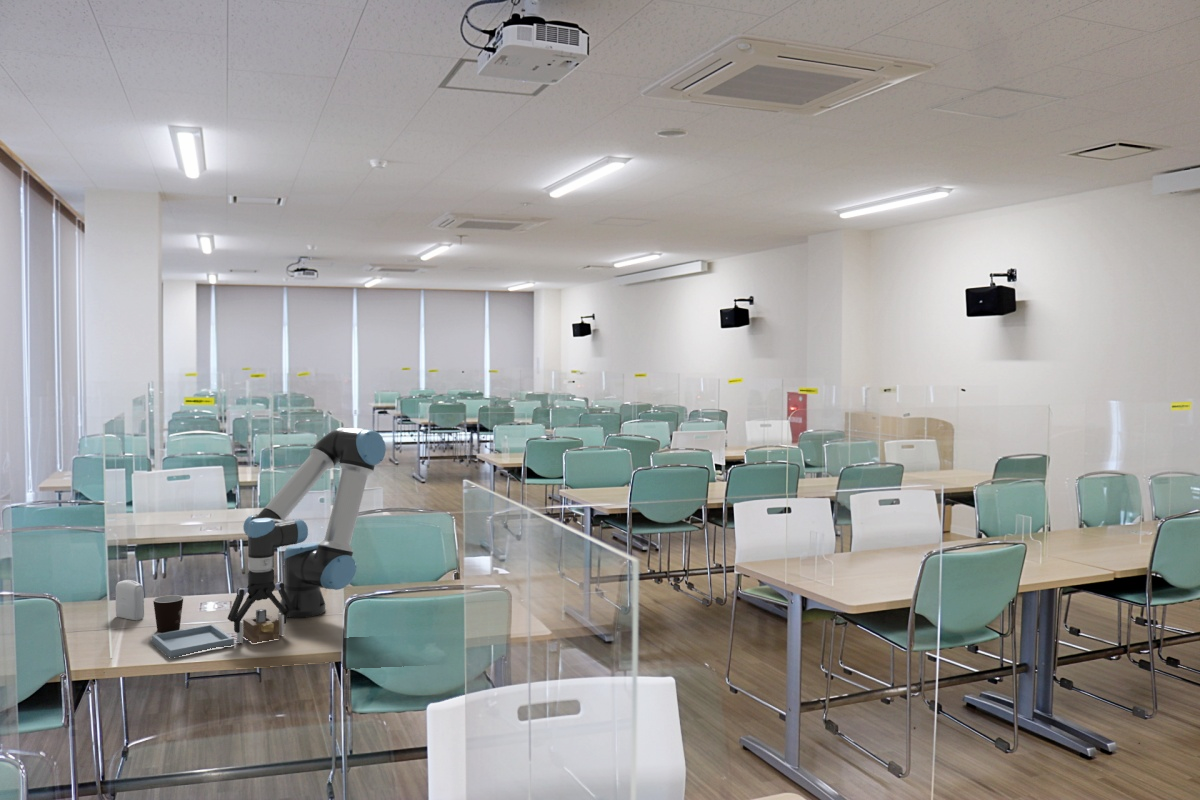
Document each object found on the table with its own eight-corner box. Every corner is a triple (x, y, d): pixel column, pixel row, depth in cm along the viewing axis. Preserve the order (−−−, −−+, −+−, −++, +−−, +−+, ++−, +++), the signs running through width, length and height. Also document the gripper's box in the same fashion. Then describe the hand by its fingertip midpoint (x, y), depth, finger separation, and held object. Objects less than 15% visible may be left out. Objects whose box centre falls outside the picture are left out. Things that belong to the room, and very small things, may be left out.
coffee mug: (171, 635, 285) (171, 603, 284) (147, 632, 287) (147, 601, 286) (195, 624, 296) (195, 593, 296) (171, 622, 298) (171, 591, 298)
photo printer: (113, 616, 302) (113, 579, 301) (125, 613, 306) (125, 577, 305) (134, 621, 298) (134, 584, 297) (146, 618, 301) (146, 581, 301)
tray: (212, 631, 289) (212, 623, 289) (233, 646, 276) (233, 638, 276) (151, 643, 277) (151, 634, 277) (170, 659, 264) (170, 650, 264)
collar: (268, 633, 289) (268, 614, 289) (281, 641, 282) (281, 622, 281) (243, 638, 284) (243, 619, 283) (255, 646, 276) (255, 627, 276)
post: (263, 637, 286) (264, 608, 285) (267, 639, 283) (267, 610, 283) (254, 638, 284) (254, 610, 283) (258, 641, 281) (258, 612, 281)
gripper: (225, 577, 271) (225, 649, 272) (304, 566, 287) (303, 634, 289) (216, 572, 277) (216, 643, 278) (294, 561, 293) (293, 628, 294)
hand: (260, 638), depth 283 cm, fingers open, 12 cm apart
